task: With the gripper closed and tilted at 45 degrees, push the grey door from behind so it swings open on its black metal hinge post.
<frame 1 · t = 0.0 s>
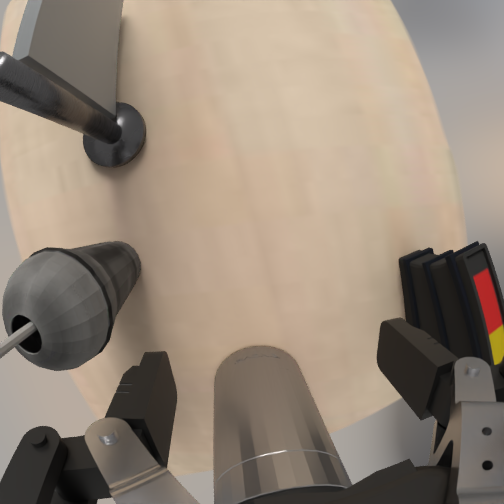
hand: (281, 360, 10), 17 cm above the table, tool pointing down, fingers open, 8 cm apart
door: (77, 20, 14), point 8 cm above the table, hinge at 0.0°
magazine: (412, 288, 30), on the table
hinge post: (115, 135, 24), on the table
beverage cup: (119, 264, 26), on the table
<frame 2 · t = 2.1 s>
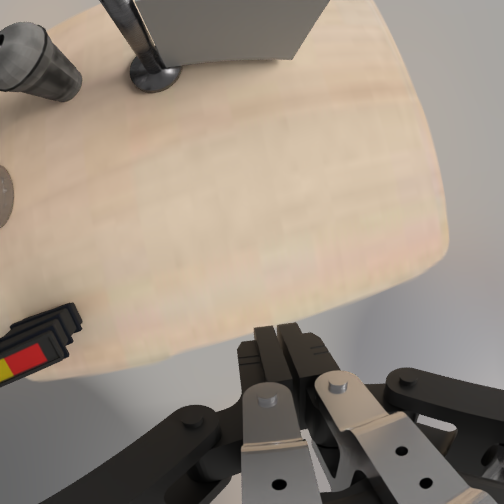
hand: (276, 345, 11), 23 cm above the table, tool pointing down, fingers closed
door: (231, 21, 21), point 9 cm above the table, hinge at 0.0°
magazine: (57, 318, 34), on the table
hinge post: (156, 69, 28), on the table
beverage cup: (67, 85, 27), on the table
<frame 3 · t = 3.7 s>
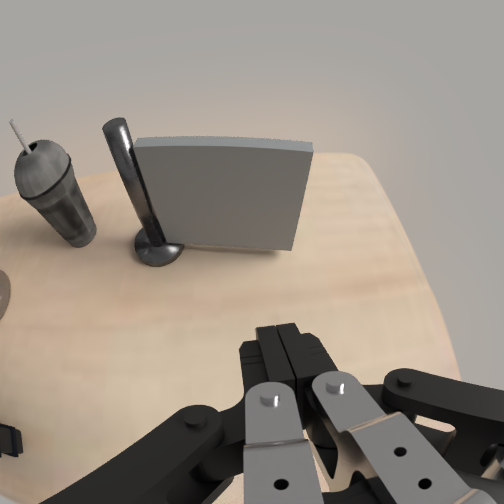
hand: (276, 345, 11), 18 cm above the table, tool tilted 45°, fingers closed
door: (225, 196, 28), point 9 cm above the table, hinge at 0.0°
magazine: (2, 436, 20), on the table
hinge post: (160, 244, 35), on the table
beverage cup: (83, 234, 36), on the table
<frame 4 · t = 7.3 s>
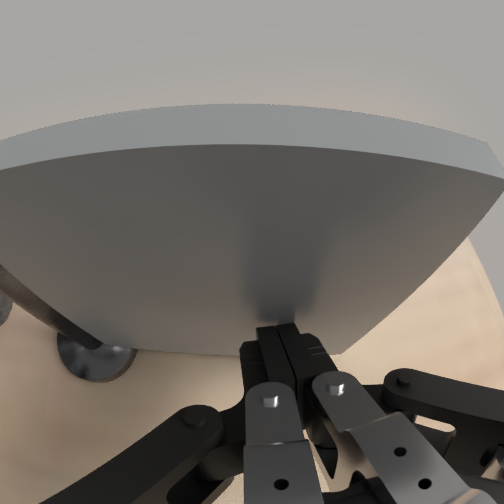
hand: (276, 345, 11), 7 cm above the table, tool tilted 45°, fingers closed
door: (202, 281, 11), point 8 cm above the table, hinge at 1.6°, touching gripper
hinge post: (99, 339, 18), on the table
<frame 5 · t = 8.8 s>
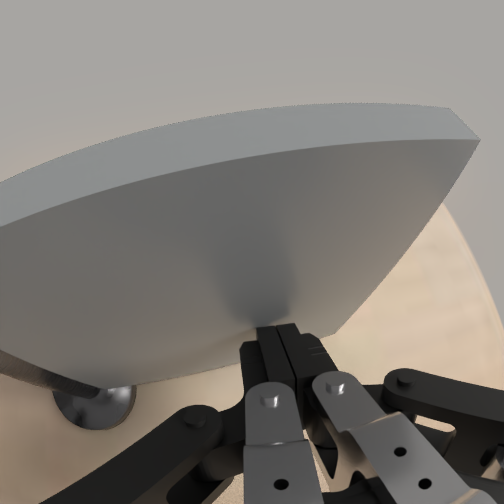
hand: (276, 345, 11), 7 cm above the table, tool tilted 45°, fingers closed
door: (193, 302, 10), point 8 cm above the table, hinge at 18.5°, touching gripper
hinge post: (94, 385, 16), on the table
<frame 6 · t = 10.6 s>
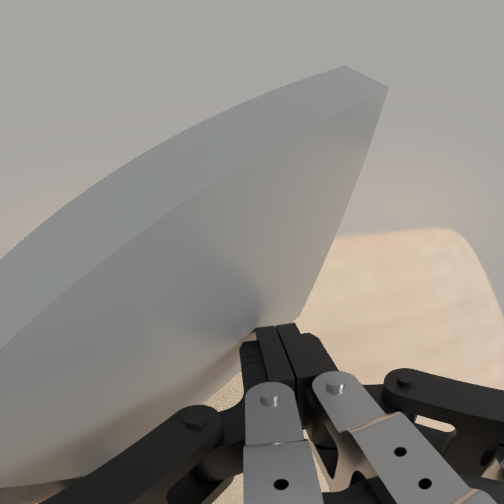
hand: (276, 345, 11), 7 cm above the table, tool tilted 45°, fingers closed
door: (161, 354, 9), point 8 cm above the table, hinge at 46.5°, touching gripper
hinge post: (109, 466, 13), on the table
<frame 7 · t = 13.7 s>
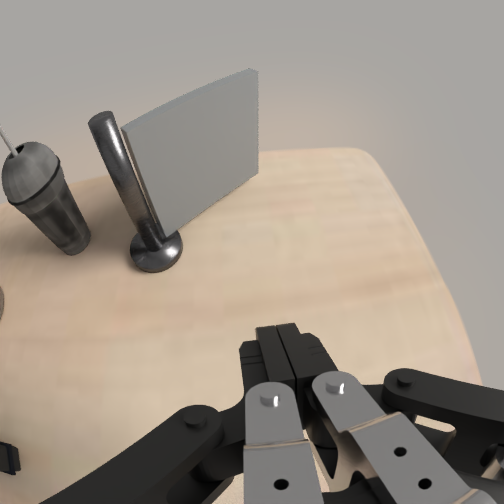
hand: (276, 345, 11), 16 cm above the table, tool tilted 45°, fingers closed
door: (200, 151, 29), point 9 cm above the table, hinge at 46.6°
hinge post: (157, 249, 33), on the table
beverage cup: (76, 241, 34), on the table
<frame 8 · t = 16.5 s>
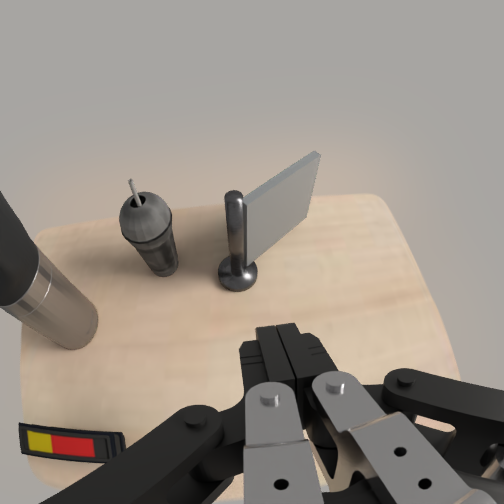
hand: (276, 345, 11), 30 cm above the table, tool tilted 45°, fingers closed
door: (276, 207, 43), point 9 cm above the table, hinge at 46.6°
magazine: (101, 442, 32), on the table
hinge post: (237, 274, 47), on the table
beverage cup: (165, 265, 48), on the table
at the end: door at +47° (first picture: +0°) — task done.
